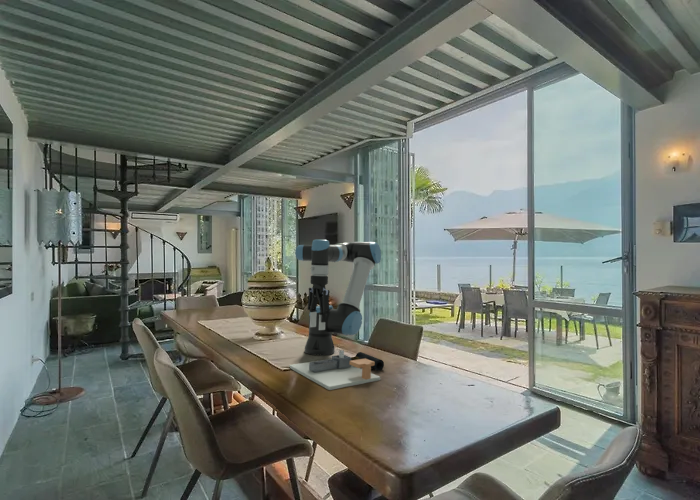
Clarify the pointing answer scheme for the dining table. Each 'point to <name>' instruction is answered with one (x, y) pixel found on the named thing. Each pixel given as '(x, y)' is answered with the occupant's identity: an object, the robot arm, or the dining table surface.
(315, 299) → the robot arm
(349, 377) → the board
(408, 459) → the dining table surface
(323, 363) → the link
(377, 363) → the pipe connector
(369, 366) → the keeper
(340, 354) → the cylinder
